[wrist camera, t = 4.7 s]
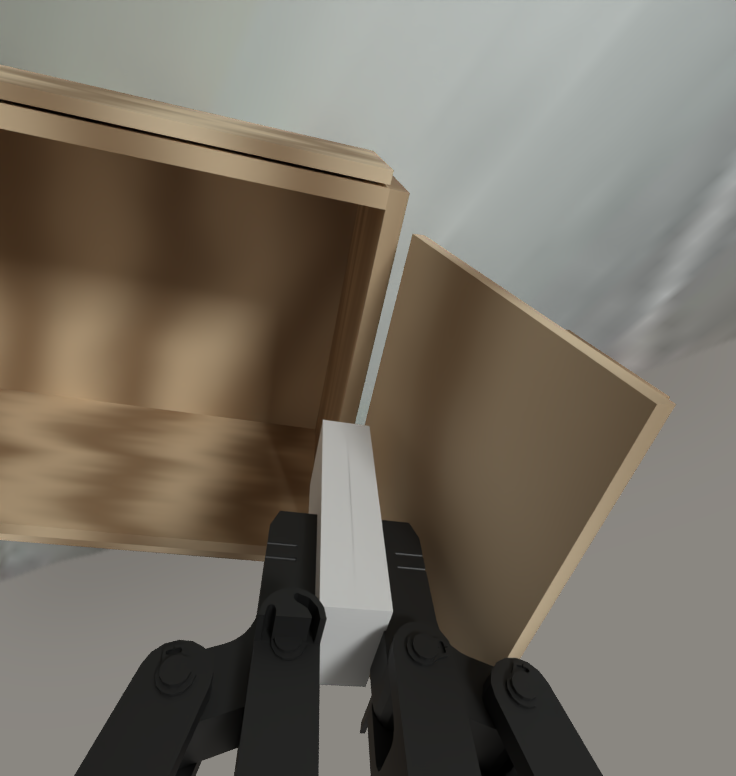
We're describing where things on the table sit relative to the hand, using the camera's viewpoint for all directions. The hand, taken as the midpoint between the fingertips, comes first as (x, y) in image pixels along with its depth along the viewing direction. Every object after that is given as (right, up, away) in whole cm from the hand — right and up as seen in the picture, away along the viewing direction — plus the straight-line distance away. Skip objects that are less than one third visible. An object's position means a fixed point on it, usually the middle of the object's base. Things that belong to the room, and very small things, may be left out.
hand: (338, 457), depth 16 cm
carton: (-10, +8, +9) cm, 16 cm away
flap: (+2, -2, -2) cm, 3 cm away
